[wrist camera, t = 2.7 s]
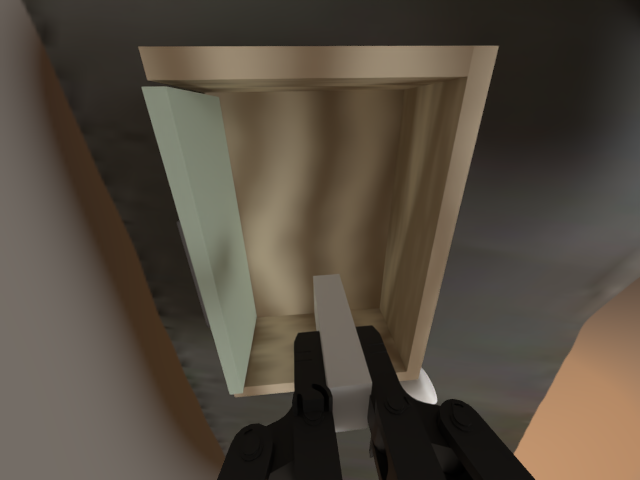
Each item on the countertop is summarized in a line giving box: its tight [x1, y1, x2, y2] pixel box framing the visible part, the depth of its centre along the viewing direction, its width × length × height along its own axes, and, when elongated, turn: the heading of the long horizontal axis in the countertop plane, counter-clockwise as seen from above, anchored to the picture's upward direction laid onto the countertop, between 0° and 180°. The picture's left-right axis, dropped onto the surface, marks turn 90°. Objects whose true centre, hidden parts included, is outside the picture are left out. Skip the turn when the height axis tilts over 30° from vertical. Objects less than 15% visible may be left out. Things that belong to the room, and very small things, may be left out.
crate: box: [138, 46, 499, 397], centre depth 21 cm, size 16×24×9 cm, turn 1°
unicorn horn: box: [399, 368, 437, 404], centre depth 37 cm, size 5×24×5 cm, turn 124°
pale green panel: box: [141, 86, 257, 394], centre depth 19 cm, size 2×21×8 cm, turn 1°
